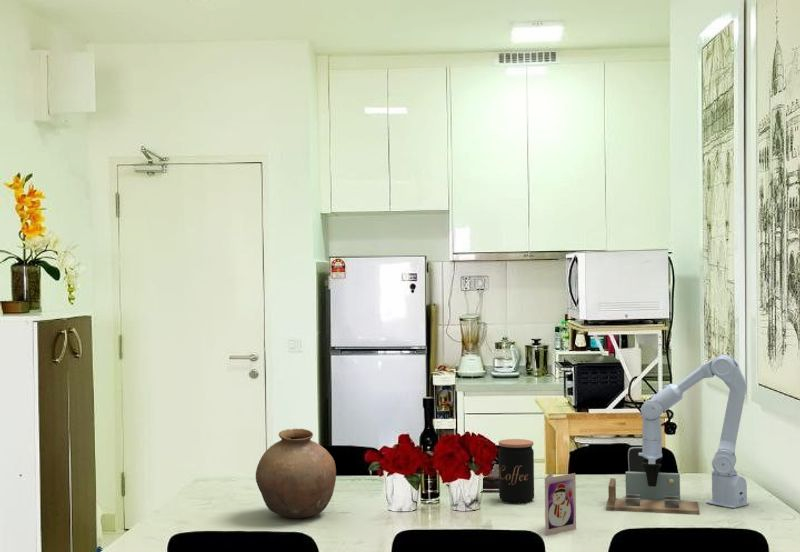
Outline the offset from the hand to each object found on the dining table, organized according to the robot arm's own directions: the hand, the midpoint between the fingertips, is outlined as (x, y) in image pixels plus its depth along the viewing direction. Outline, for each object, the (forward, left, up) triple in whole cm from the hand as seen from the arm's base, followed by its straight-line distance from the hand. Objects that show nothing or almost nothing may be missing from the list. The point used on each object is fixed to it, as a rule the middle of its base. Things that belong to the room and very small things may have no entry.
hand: (652, 483), depth 301 cm
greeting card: (-6, +51, -5) cm, 51 cm away
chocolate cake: (+50, +22, -5) cm, 54 cm away
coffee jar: (+26, +33, -5) cm, 42 cm away
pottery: (+53, +95, -5) cm, 108 cm away
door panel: (0, 0, -5) cm, 5 cm away
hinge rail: (-7, +10, -5) cm, 13 cm away
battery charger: (+20, -18, -5) cm, 27 cm away
